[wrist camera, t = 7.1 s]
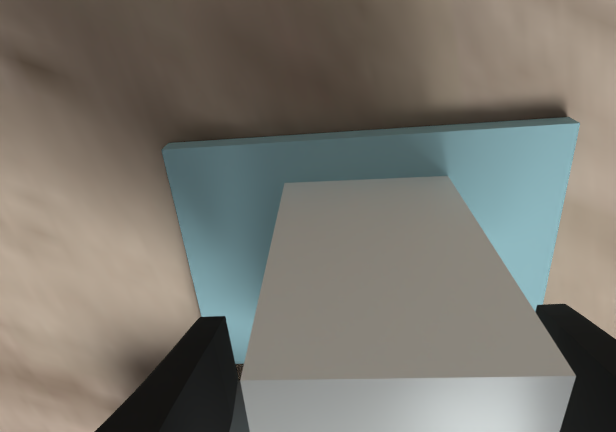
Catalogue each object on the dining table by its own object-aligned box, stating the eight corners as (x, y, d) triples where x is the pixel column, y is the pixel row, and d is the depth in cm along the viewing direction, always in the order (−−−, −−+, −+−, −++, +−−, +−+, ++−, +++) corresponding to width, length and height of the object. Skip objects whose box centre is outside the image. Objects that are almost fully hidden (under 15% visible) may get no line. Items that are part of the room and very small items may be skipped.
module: (300, 344, 15) (280, 594, 9) (284, 182, 12) (240, 380, 6) (433, 341, 15) (509, 598, 9) (448, 175, 12) (576, 376, 6)
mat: (216, 351, 16) (213, 364, 16) (168, 143, 13) (161, 149, 12) (524, 342, 15) (532, 355, 15) (568, 116, 12) (580, 122, 11)
